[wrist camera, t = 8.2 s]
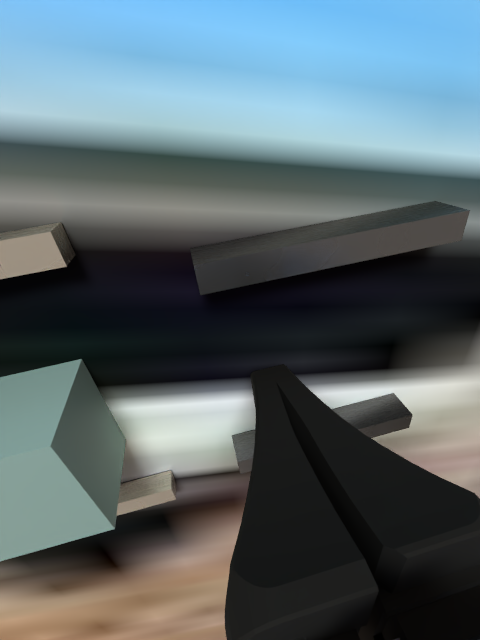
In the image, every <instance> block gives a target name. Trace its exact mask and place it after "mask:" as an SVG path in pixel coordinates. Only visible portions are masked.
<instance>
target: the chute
mask: <svg viewBox="0 0 480 640" xmlns="http://www.w3.org/2000/svg"><path fill="white" fill-rule="evenodd" d="M469 211H470V210H467V209H463V208H459V207H456V206H452V205H448V204H444V203H441V202H437V201H434V202H429V203H423V204H418V205H413V206H408V207H403V208H397V209H392V210H387V211H382V212H377V213H371V214H366V215H361V216H356V217H351V218H346V219H340V220H335V221H330V222H325V223H320V224H314V225H309V226H304V227H299V228H294V229H288V230H283V231H278V232H273V233H268V234H263V235H257V236H252V237H247V238H242V239H237V240H231V241H226V242H221V243H216V244H211V245H205V246H200V247H195V248H190V250H191V255H192V260H193V264H194V269H195V273H196V278H197V282H198V287H199V291H200V295H204V294H208V293H213V292H218V291H223V290H227V289H232V288H237V287H242V286H247V285H251V284H256V283H261V282H266V281H270V280H275V279H280V278H285V277H289V276H294V275H299V274H304V273H309V272H313V271H318V270H323V269H328V268H332V267H337V266H342V265H347V264H351V263H356V262H361V261H366V260H371V259H375V258H380V257H385V256H390V255H394V254H399V253H404V252H409V251H413V250H418V249H423V248H428V247H432V246H437V245H442V244H447V243H452V242H456V241H461V240H462V236H463V233H464V229H465V226H466V222H467V219H468V215H469ZM74 256H75V253H74V250H73V248H72V246H71V244H70V241H69V239H68V237H67V235H66V232H65V230H64V228H63V226H62V223H61V222H60V223H54V224H48V225H43V226H37V227H31V228H26V229H20V230H14V231H8V232H3V233H0V279H4V278H10V277H15V276H20V275H25V274H30V273H36V272H41V271H46V270H51V269H57V268H62V267H67V266H68V264H69V263H70V261H71V260H72V259H73V257H74ZM332 410H333V411H334V412H335V413H337V414H338V415H339V416H340V417H342V418H343V419H344V420H346V421H347V422H348V423H350V424H351V425H352V426H354V427H355V428H356V429H358V430H359V431H361V432H362V433H364V434H365V435H367V436H368V437H370V438H373V437H377V436H380V435H384V434H387V433H391V432H395V431H398V430H402V429H406V428H409V426H410V422H411V418H412V414H411V413H410V411H409V410H408V409H407V408H406V407H405V406H404V404H403V403H402V402H401V401H400V400H399V399H398V398H397V396H396V395H395V394H394V393H393V394H390V395H386V396H382V397H378V398H374V399H370V400H367V401H363V402H359V403H355V404H351V405H347V406H344V407H340V408H336V409H332ZM232 438H233V443H234V447H235V452H236V457H237V461H238V466H239V470H240V474H242V473H246V472H250V471H251V470H252V463H253V454H254V444H255V430H252V431H248V432H244V433H240V434H237V435H233V436H232ZM175 499H176V481H175V478H174V476H173V474H172V472H171V471H167V472H163V473H159V474H156V475H152V476H148V477H145V478H141V479H137V480H133V481H130V482H126V483H122V484H120V491H119V499H118V507H117V515H116V516H118V515H121V514H125V513H128V512H132V511H136V510H139V509H143V508H146V507H150V506H154V505H157V504H161V503H164V502H168V501H171V500H175Z"/></svg>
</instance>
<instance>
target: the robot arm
mask: <svg viewBox="0 0 480 640" xmlns="http://www.w3.org/2000/svg"><path fill="white" fill-rule="evenodd" d="M251 382H252V388H253V395H254V402H255V407H256V428H255V444H254V454H253V463H252V470H251V476H250V482H249V488H248V494H247V499H246V503H245V508H244V512H243V517H242V522H241V526H240V530H239V534H238V538H237V541H236V545H235V549H234V552H233V556H232V560H231V564H230V573H229V580H228V588H227V595H226V605H225V629H226V637H227V640H480V499H479V498H478V496H477V495H476V494H475V493H473V492H471V491H468V490H466V489H464V488H462V487H460V486H458V485H455V484H453V483H451V482H449V481H447V480H445V479H442V478H440V477H438V476H436V475H434V474H432V473H430V472H428V471H426V470H424V469H423V468H421V467H419V466H417V465H415V464H413V463H411V462H409V461H408V460H406V459H404V458H403V457H401V456H399V455H397V454H396V453H394V452H392V451H391V450H389V449H387V448H385V447H384V446H382V445H380V444H379V443H377V442H376V441H374V440H373V439H371V438H370V437H368V436H367V435H365V434H364V433H362V432H361V431H359V430H358V429H356V428H355V427H354V426H352V425H351V424H350V423H348V422H347V421H346V420H344V419H343V418H342V417H340V416H339V415H338V414H337V413H335V412H334V411H333V410H332V409H330V408H329V407H328V406H327V405H326V404H324V403H323V402H322V401H321V400H320V399H319V398H318V397H317V396H316V395H314V394H313V393H312V392H311V391H310V390H309V389H308V388H307V387H306V386H305V385H304V384H303V383H302V382H301V381H300V380H299V379H298V378H297V377H296V376H295V375H294V374H293V373H292V372H291V371H290V370H289V369H288V368H287V366H285V365H284V364H283V365H278V366H274V367H270V368H266V369H262V370H258V371H254V372H252V373H251Z"/></svg>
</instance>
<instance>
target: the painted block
mask: <svg viewBox="0 0 480 640" xmlns="http://www.w3.org/2000/svg"><path fill="white" fill-rule="evenodd" d="M125 443H126V439H125V438H124V436H123V434H122V432H121V430H120V428H119V427H118V425H117V423H116V421H115V419H114V417H113V416H112V414H111V412H110V410H109V408H108V406H107V405H106V403H105V401H104V399H103V397H102V395H101V394H100V392H99V390H98V388H97V386H96V384H95V383H94V381H93V379H92V377H91V375H90V373H89V371H88V370H87V368H86V366H85V364H84V362H83V360H82V359H80V360H75V361H71V362H67V363H62V364H58V365H53V366H49V367H44V368H40V369H36V370H31V371H27V372H22V373H18V374H14V375H9V376H5V377H0V561H3V560H6V559H10V558H13V557H17V556H20V555H24V554H27V553H31V552H35V551H38V550H42V549H45V548H49V547H52V546H56V545H59V544H63V543H66V542H70V541H73V540H77V539H80V538H84V537H87V536H91V535H94V534H98V533H102V532H105V531H109V530H112V529H115V523H116V515H117V507H118V499H119V491H120V483H121V475H122V467H123V459H124V451H125Z"/></svg>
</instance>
